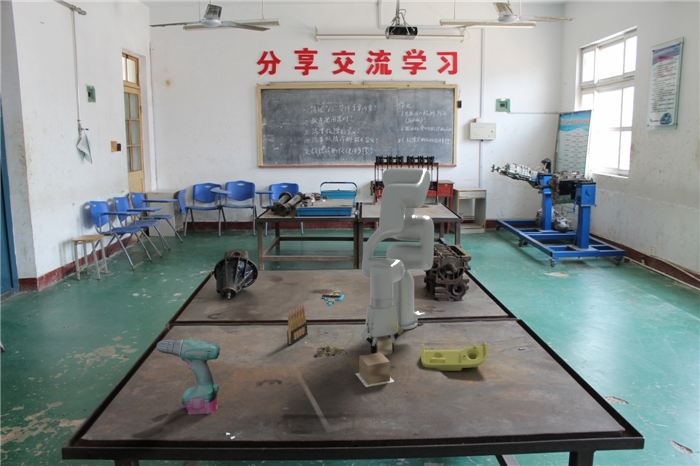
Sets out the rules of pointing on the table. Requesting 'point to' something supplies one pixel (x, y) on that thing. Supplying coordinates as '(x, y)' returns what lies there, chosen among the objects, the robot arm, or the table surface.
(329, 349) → the mineral rock
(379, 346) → the maple block
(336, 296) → the gear mechanism
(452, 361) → the plastic component
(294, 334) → the ammunition clip
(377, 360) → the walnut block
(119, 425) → the table surface
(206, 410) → the power drill
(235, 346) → the table surface
